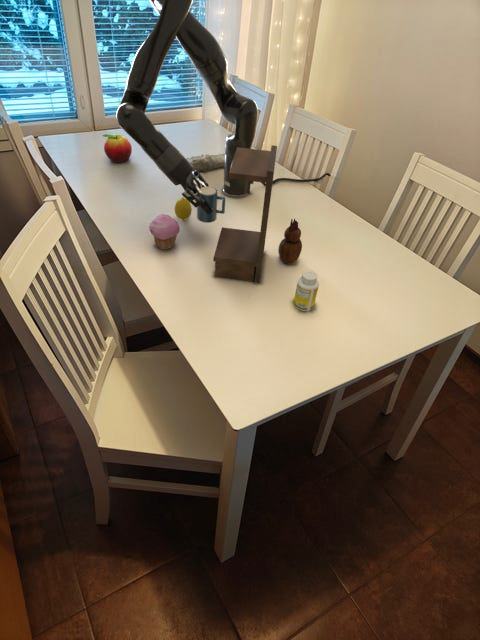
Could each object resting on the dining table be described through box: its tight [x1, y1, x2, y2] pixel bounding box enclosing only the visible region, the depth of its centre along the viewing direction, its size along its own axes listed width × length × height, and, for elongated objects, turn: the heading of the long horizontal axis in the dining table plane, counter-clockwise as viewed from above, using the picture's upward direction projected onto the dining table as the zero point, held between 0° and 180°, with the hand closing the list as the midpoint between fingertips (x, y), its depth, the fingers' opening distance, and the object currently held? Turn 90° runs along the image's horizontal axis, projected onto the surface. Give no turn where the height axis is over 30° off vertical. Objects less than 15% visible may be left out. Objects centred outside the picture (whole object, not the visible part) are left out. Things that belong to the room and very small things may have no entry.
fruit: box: [102, 133, 133, 163], centre depth 175 cm, size 11×11×10 cm
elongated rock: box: [186, 153, 225, 173], centre depth 179 cm, size 35×5×10 cm
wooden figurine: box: [277, 218, 303, 265], centre depth 129 cm, size 7×6×15 cm
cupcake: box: [148, 213, 181, 250], centre depth 132 cm, size 9×9×10 cm
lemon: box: [174, 197, 193, 221], centre depth 145 cm, size 6×6×8 cm
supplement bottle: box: [293, 270, 320, 312], centre depth 115 cm, size 6×6×10 cm
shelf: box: [212, 145, 278, 284], centre depth 120 cm, size 14×16×33 cm
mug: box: [196, 185, 226, 224], centre depth 133 cm, size 8×6×9 cm
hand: (212, 207), depth 133 cm, fingers closed on mug, 6 cm apart
